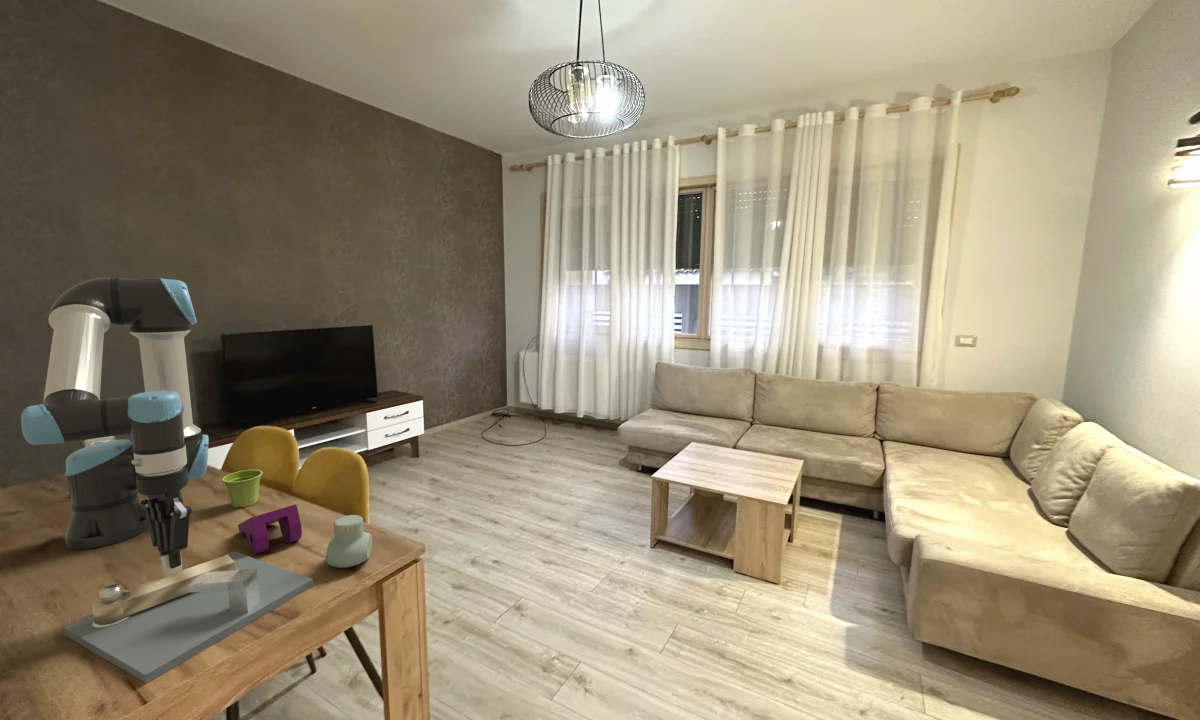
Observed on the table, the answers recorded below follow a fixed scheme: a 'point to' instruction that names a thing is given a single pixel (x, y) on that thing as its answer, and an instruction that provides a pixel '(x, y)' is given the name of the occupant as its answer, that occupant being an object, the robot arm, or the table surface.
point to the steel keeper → (231, 587)
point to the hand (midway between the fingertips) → (173, 580)
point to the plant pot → (243, 487)
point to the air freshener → (349, 543)
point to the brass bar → (156, 591)
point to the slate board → (184, 623)
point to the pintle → (108, 596)
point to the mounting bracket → (257, 524)
